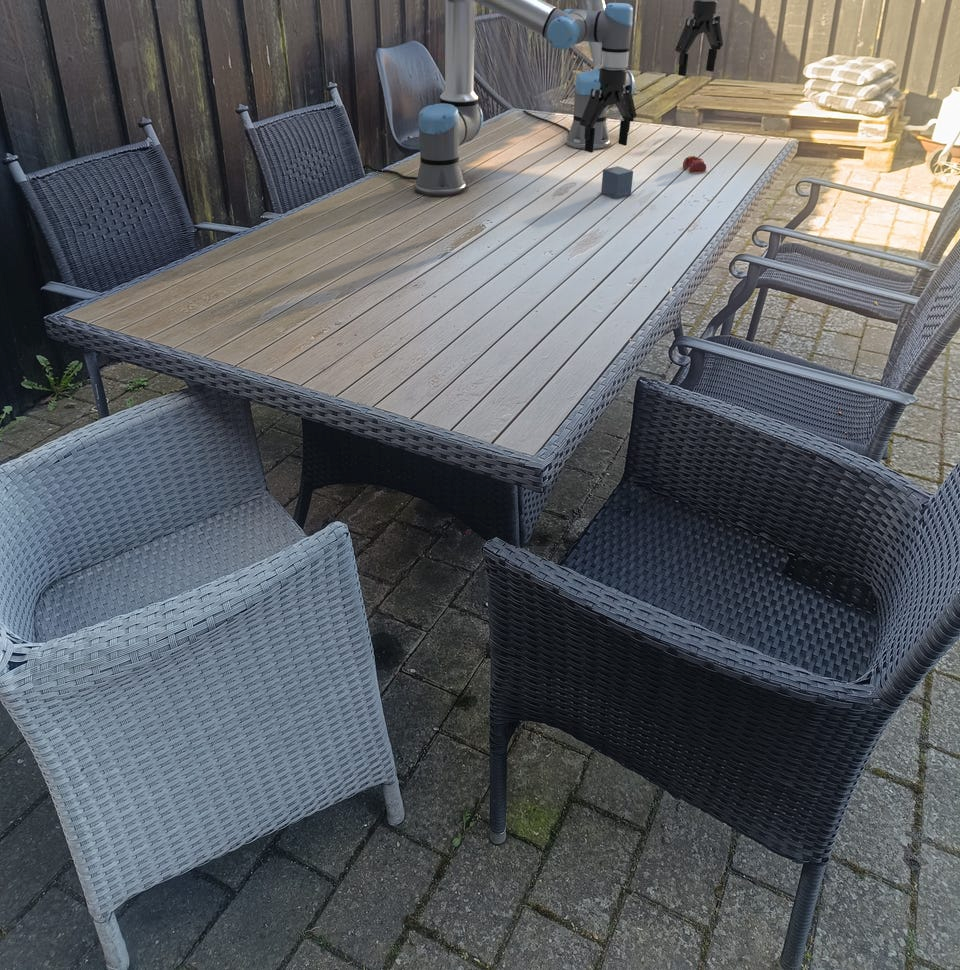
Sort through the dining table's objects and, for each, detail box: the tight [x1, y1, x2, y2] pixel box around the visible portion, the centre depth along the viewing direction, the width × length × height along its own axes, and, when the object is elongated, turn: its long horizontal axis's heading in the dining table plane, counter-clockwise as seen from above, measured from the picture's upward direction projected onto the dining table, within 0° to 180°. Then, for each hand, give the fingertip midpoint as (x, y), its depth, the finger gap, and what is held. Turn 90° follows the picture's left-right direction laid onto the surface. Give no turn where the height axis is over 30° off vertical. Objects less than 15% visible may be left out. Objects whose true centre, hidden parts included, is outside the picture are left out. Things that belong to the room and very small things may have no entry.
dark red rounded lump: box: [682, 155, 707, 173], centre depth 275 cm, size 6×4×8 cm
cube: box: [600, 165, 634, 199], centre depth 253 cm, size 7×6×7 cm
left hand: (605, 148), depth 245 cm, fingers open, 13 cm apart
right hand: (695, 73), depth 280 cm, fingers open, 13 cm apart
